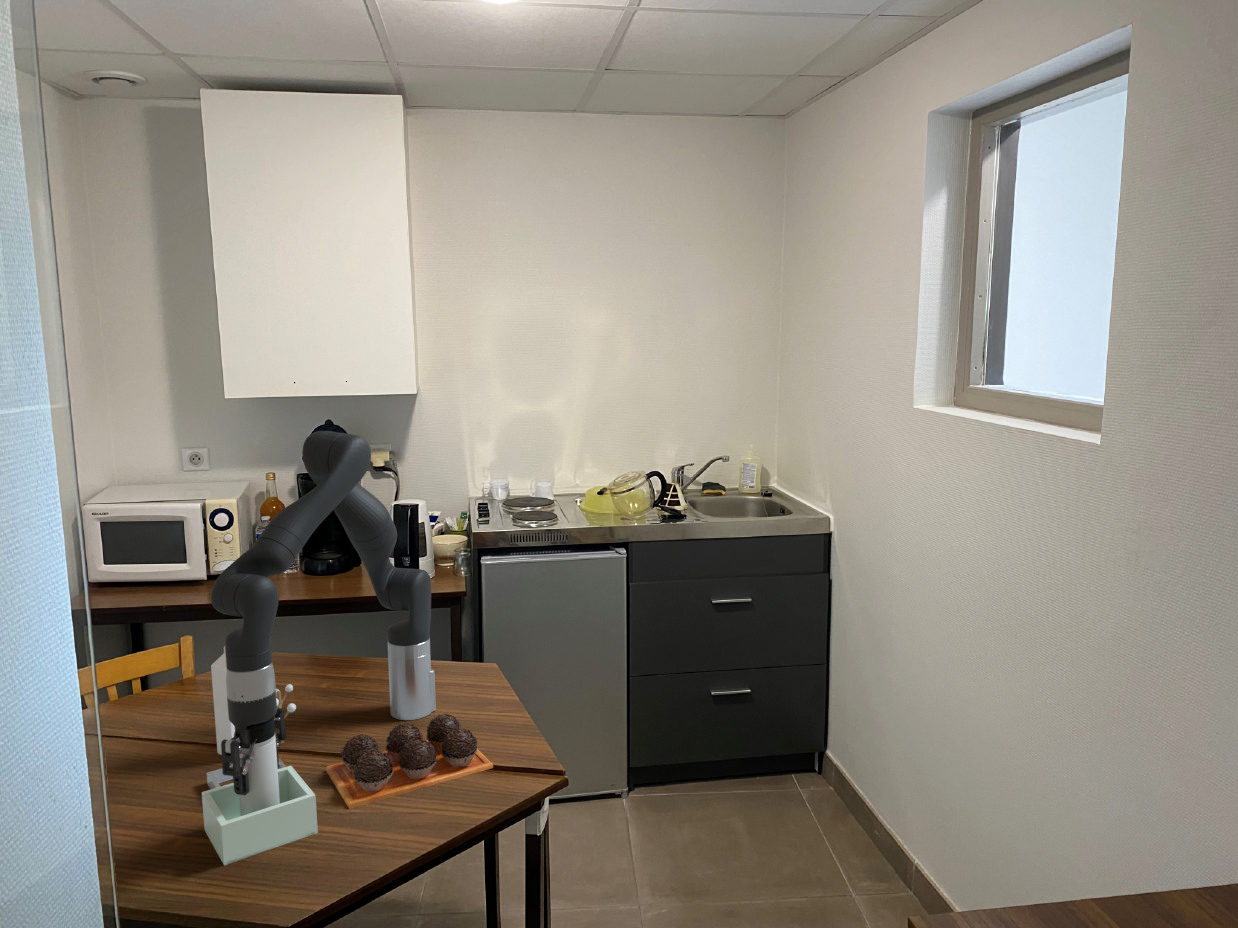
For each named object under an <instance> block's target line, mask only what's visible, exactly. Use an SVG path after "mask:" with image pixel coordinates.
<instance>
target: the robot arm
mask: <svg viewBox="0 0 1238 928" xmlns="http://www.w3.org/2000/svg"><path fill="white" fill-rule="evenodd" d="M371 449H372V448H371V446H370V443H369V442H368V441H367V439H365V437H363V436H360V435H357V434H351V433H344V432H338V431H330V430H329V431H328V430H318V431H315V432H312V433H310V434H309V435H307V437H306V438H305V440H304V442H303V444H302V450H301V452H302V455H301V456H302V461H303V462H302V463H303V464H304V467H305V470H306V472H307V474H308V476H310V478H311V480H312V481H313V483H314V484H315V485H316V486H315V487H314V488H312V489H311V490H310V491H309V492H308V493H306V494H305V495H303V496H302V497H299V498H298V499H296V500H295V501H293V502H292V503H290V504H288V505H287V506H286V507H284V508H283V509H282V510H281V511H279V512H278V513H277V514H276V515H274V516H273V517H272V519H271V520H270V521H269V522H268V523H267V525H266V526H265V527H264V529H263V530H262V532H261V533H260V535H259V536H258V537H257V539H256V541H255V542H254V544H253V545H252V546H251V547H250V548H249V549H248V550H246V551H245V552H244V553H242V554H241V555H240V556H239V557H238V558H237V559H236V560H234V561H233V562H232V563H231V564H230V565H229V566H227V567H226V568H225V569H224V570H223V571H222V572H221V573H220V575H219V576H218V577H217V579H216V580H215V581H214V584H213V586H212V589H211V593H210V601H211V605H212V607H213V608H214V610H216V611H217V612H218V613H220V614H223V615H227V616H233V617H239V618H240V617H241V618H242V619H243V624H242V627H238V628H236V629H234V630H231V631H230V632H229V633H228V634H227V635H226V638H225V641H224V646H225V653H226V666H227V674H226V690H227V703H228V717H229V721H230V722H231V723H232V724H233V725H234V726H235V733H234V737H233V738H231V739H230V740H226V739H224V740H223V741H222V742H221V752H222V755H221V763H222V764H221V768H222V770H223V775H228V776H233V779H232V781H233V782H232V783H234V791H235V793H236V794H238V795H246V794H248V793H249V779H248V773H247V771H248V768H249V764H250V761H252V760H253V759H254V757H255V748H256V747H255V742H256V741H257V738H256V739H255V741H254V742H253V743H251V742H250V741H251V739H250V727H251V725H256V724H260V723H263V722H266V721H268V720H270V719H271V718H273V717H274V726H275V728H274V729H275V737H276V752H277V768H279V764H278V763H279V758H280V757H279V749H280V747H281V744H280V742H281V741H284V742H285V741H286V738H287V733H286V732H287V731H286V730H287V729H286V720H285V719H286V718H285V717H284V716H285V710H284V708H283V707H282V708H277V703H276V689H277V687H276V675H275V670H274V669H275V668H274V665H273V654H272V653H273V652H272V643H271V642H272V641H271V639H272V634H273V631H274V630H273V629H274V625H275V621H276V616H277V613H278V607H279V600H280V599H279V598H280V597H279V596H280V595H279V592H278V588H277V585H276V584H275V581H273V580H272V579H271V578H270V577H271V576H275V575H281V574H283V573H285V572H287V571H288V569H290V567H291V566H292V565H293V563H294V561H295V560H296V559H297V557H298V555H299V554H300V552H301V550H302V549H303V548H304V547H305V545H306V543H307V542H308V540H309V539H310V538H311V537H312V534H313V533H314V532H315V531H316V530H317V528H319V526H320V525H321V524H322V523H323V521H324V520H325V519H326V518H327V517H328V516H329V515H330V514H331V513H332V512H333V511H334V513H335V515H336V517H337V519H338V520H339V522H340V523H341V525H342V527H343V528H344V531H345V534H346V535H347V537H348V539H349V540H350V543H351V544H352V546H353V548H354V549H355V551H356V552H357V554H358V556H359V558H360V560H361V562H362V564H363V565H364V567H365V570H366V571H367V574H368V577H369V579H370V582H371V584H372V588H373V590H374V593H375V596H376V597H377V600H378V602H379V603H380V605H381V606H382V607H384V608H385V609H388V610H393V611H405V612H406V611H407V612H408V618H407V619H404V620H400V621H398V622H395V623H393V624H392V625H390V626H389V627H388V628H387V631H386V632H387V633H386V637H387V638H386V641H387V659H388V664H387V665H388V683H389V684H388V685H389V709H390V710H389V711H390V716H391V717H392V718H394V719H397V720H400V721H414V720H420V719H423V718H425V717H427V716H429V715H430V714H431V713H432V712H435V711H437V706H436V705H437V703H436V702H437V701H436V698H437V697H436V681H435V680H436V679H435V677H436V676H435V675H436V674H435V673H436V672H435V669H433V668H432V665H431V662H432V661H431V635H430V634H431V633H430V632H431V623H432V582H431V577H430V574H429V573H428V572H427V571H426V569H425V570H424V569H419V568H418V569H417V568H403V567H396V566H394V564H392V562H391V559H390V556H391V555H392V553H393V551H394V548H395V547H396V544H397V541H398V530H397V527H396V524H395V522H394V521H393V518H392V517H391V514H390V512H389V511H388V509H387V507H386V506H385V505H384V504H383V502H382V501H381V500H379V498H377V497H376V496H375V495H373V493H371V492H370V491H369V490H367V489H366V488H365V487H363V486H362V485H361V484H360V482H361V481H362V479H364V476H365V475H366V474H367V472H368V470H369V467H370V464H371V461H372V450H371ZM277 729H278V732H277ZM250 745H251V746H250ZM239 746H240V747H239ZM241 748H245V749H249V748H250V750H249V752H248V754H240V751H239V750H240V749H241ZM278 757H279V758H278ZM241 759H244V761H243V765H242V767H241V766H240V760H241ZM230 764H231V765H230ZM230 766H231V767H230Z"/></svg>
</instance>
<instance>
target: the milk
mask: <svg viewBox="0 0 1238 928" xmlns="http://www.w3.org/2000/svg"><path fill="white" fill-rule="evenodd" d="M210 670H211V671H210V672H211V681H212V684H211V685H212V696H213V697H212V698H213V710H214V723H215V737H216V738H215V739H216V750H217V754H218V755H221V756H222V752H221V742H222V741H223V740H224V739H226V740H230V739H231V738H233V737H234V733H235V726H234V725H233V724H232V723H231V722H230V721H229V717H228V703H227V690H226V674H227V666H226V653H225V645H224V646H223V653H222V655H220V656H219V657H218V658H217V659H216V660H215V661H214V662H213V663H212V664H211V665H210Z"/></svg>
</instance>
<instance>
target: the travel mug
mask: <svg viewBox="0 0 1238 928" xmlns="http://www.w3.org/2000/svg"><path fill="white" fill-rule="evenodd" d="M274 728H275V726H274V717H273V718H271V719H270V720H268V721H266V722H263V723H260V724H256V725H251V727H250V739H251V741H250V742H251V743H253V742H254V741H255V739H256V738H257V741H256V742H255V747H256V748H255V757H254V759H253V760H252V761H250V764H249V768H248V771H247V773H248V779H249V793H248V794H246V795H239V799H240V813H241V816H243V815H247V814H250V813H253V812H256V811H259V810H262V809H265V808H268V807H271V806H274V805H278V804H280V799H279V783H278V768H277V752H276V737H275V729H274ZM250 746H251V745H250ZM239 747H240V746H239ZM249 750H250V748H249V749H245V748H241V749H240V750H239V751H240V754H248V752H249ZM243 761H244V759H241V760H240V766H241V767H242V765H243Z"/></svg>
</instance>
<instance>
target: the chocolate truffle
mask: <svg viewBox="0 0 1238 928" xmlns="http://www.w3.org/2000/svg"><path fill="white" fill-rule="evenodd" d="M388 735H389V736H388V737H386V745H385V750H384V751H380V749H379V744H378V742H377V741H376V740H375V738H373V736H370V735H369V734H363V733H362V734H361V733H360V734H357V735H354V736H353V737H351V738H349V739H347V741H346V743H345V744H344V746H343V747H342V748H341V750H342V751H341V752H340V753H341V755H342V756H341V757H342V759H341V762H338V763H334V764H330V765H327V766H326V767H325V771H326V773H327V775H328V777H329V778H330V780H331V782H332V784H333V785H334V786H335V788H336V789H337V791H338V793H339V795H340V797H342V799H343V801H344V803H345V805H346V806H347V808H348V809H349V810H351V809H354V808H359V807H361V806H366V805H368V804H373V803H375V802H379V801H382V800H386V799H387V800H388V799H389V798H392V797H396V796H397V797H398V796H400V795H404V794H407V793H411V792H414V791H417V790H421V789H424V788H428V787H431V786H434V785H438V784H442V783H446V782H448V781H453V780H455V779H460V778H463V777H466V776H470V775H473V774H476V773H480V772H483V771H487V770H491V769H493V768H494V765H493V763H492V762H491V761H490V760H489V759H488V757H486V755H484V754H483V752H482V751H480V750H479V748H478V740H477V739H478V738H477V737H476V736H475V735H474V733H472V731H471V730H470V729H466V728H462V724H461V723H460V722H459V720H458V719H457V717H455V716H453V715H450V714H448V713H444V714H438V715H437V716H434V717H433V718H431V720H430V721H429V723H428V726H426V740H425V739H424V738H423V734H422V732H421V731H420V729H419V727H417V726H415V724H412V723H411V724H409V723H400V724H399V723H398V724H397V725H395V726H394V727H393V728H392V729H391V730H390V731H389V733H388Z"/></svg>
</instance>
